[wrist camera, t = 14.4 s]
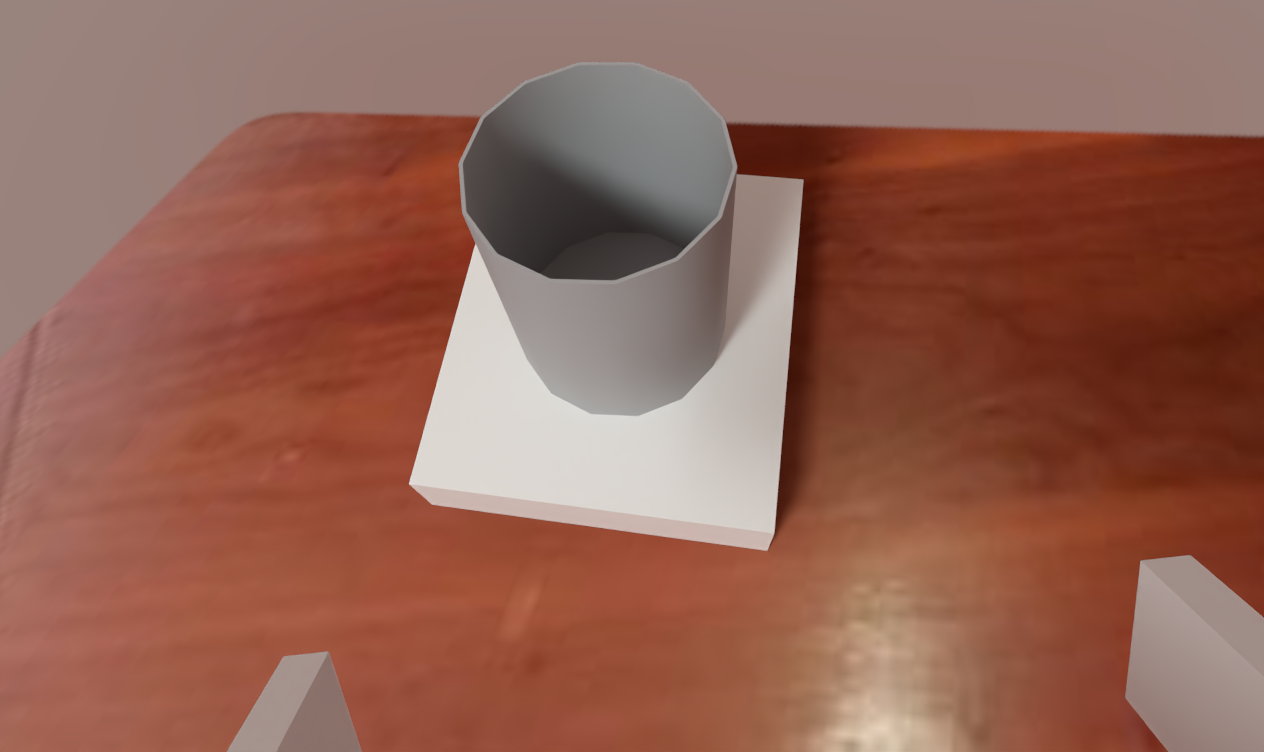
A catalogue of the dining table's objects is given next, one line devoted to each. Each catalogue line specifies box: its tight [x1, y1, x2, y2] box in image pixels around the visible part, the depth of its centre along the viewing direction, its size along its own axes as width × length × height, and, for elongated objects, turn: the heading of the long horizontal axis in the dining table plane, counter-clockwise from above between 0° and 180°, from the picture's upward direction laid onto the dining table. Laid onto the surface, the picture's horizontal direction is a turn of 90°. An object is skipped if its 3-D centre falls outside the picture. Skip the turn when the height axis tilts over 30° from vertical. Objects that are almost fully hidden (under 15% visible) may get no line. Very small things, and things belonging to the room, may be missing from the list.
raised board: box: [409, 174, 804, 551], centre depth 34 cm, size 14×16×3 cm
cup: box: [459, 62, 737, 416], centre depth 28 cm, size 8×8×10 cm
